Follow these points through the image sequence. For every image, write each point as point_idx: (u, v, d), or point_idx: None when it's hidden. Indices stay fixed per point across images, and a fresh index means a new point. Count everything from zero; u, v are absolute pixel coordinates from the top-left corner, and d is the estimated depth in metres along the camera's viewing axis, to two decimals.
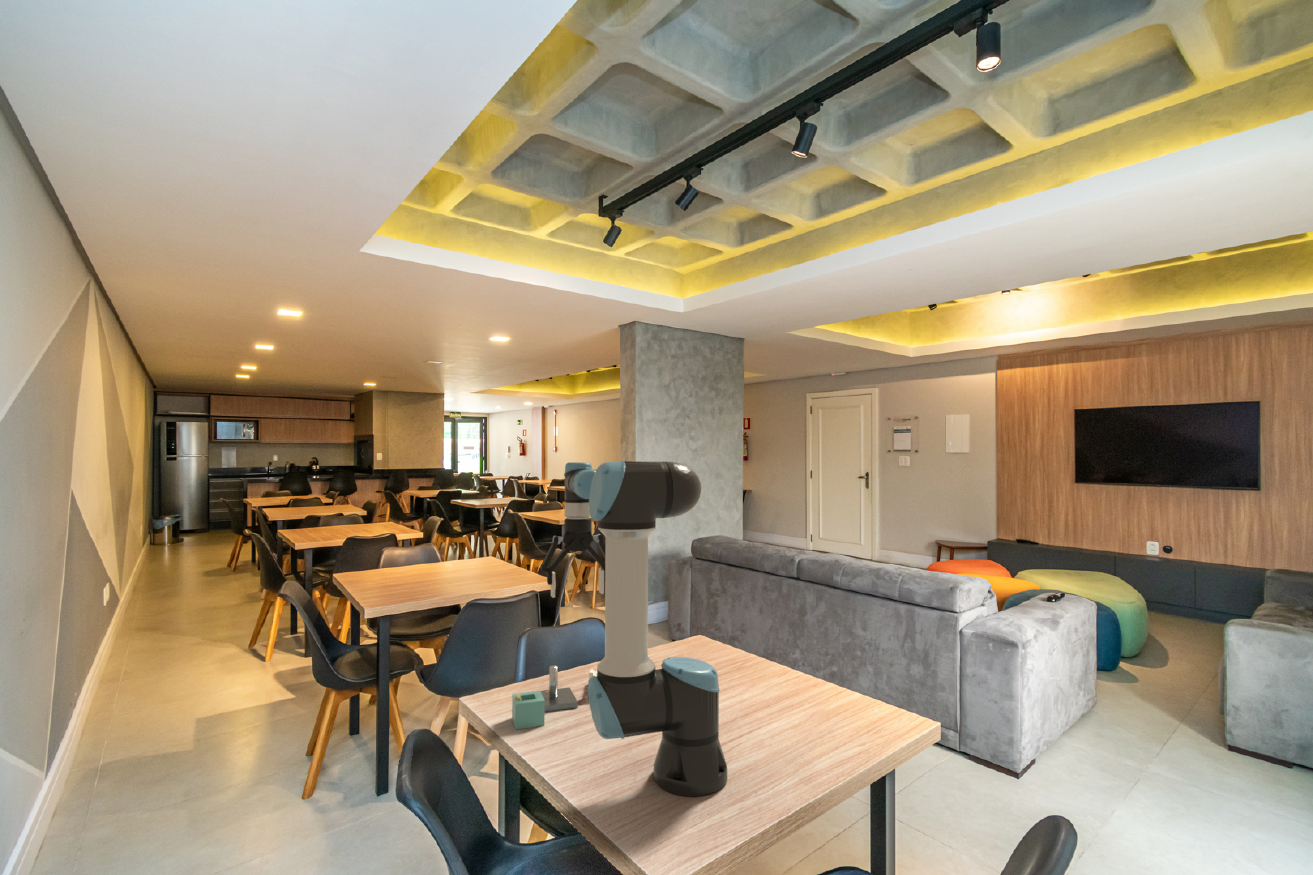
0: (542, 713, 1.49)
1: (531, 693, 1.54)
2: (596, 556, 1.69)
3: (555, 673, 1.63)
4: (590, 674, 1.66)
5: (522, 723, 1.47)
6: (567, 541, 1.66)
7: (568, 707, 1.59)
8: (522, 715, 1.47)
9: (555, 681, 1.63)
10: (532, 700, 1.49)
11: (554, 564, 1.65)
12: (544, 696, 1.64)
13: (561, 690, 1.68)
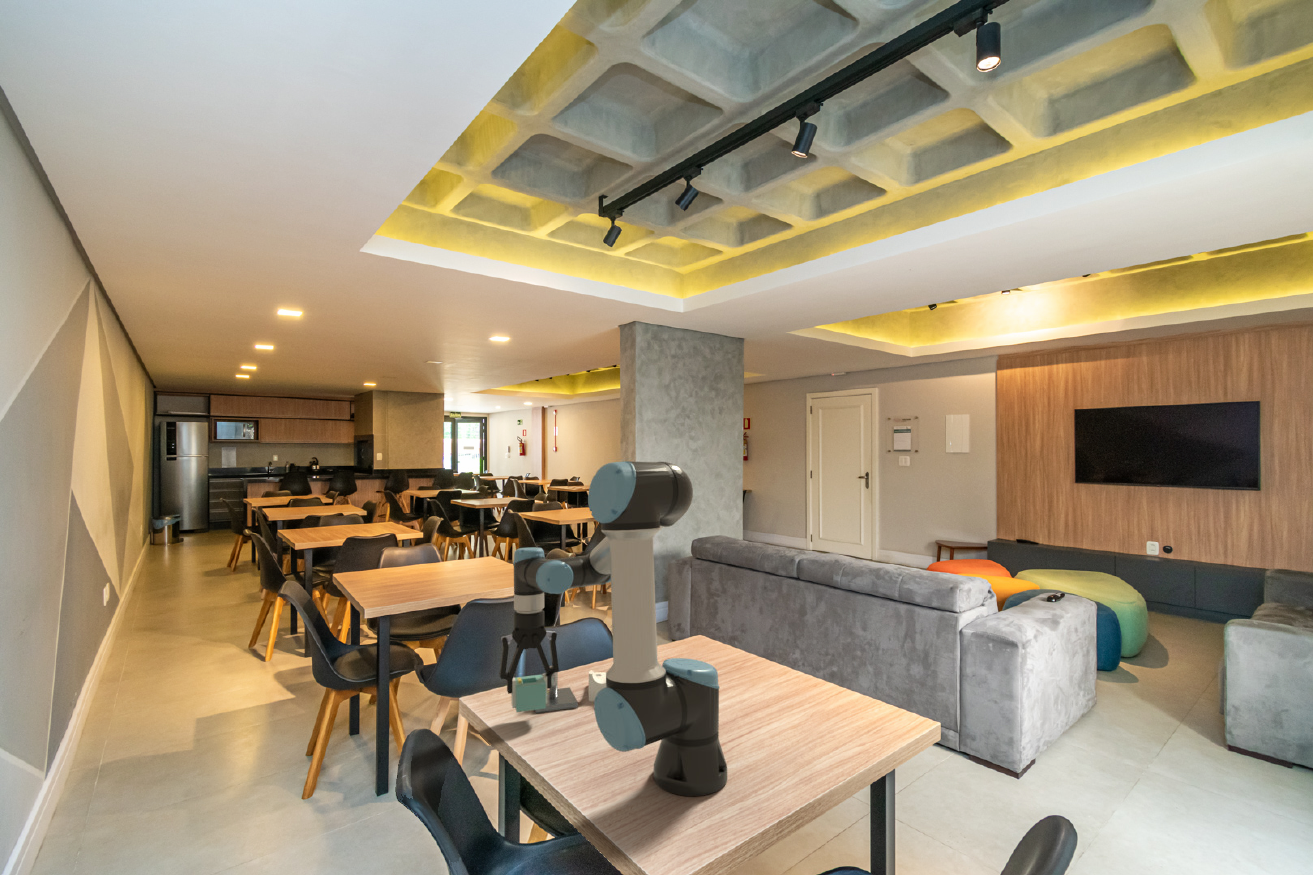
0: (543, 696, 1.49)
1: (532, 677, 1.54)
2: (543, 657, 1.52)
3: (555, 673, 1.63)
4: (589, 675, 1.65)
5: (523, 706, 1.47)
6: (517, 638, 1.50)
7: (568, 707, 1.59)
8: (523, 698, 1.47)
9: (555, 681, 1.63)
10: (533, 683, 1.49)
11: (512, 669, 1.49)
12: None
13: (561, 690, 1.68)
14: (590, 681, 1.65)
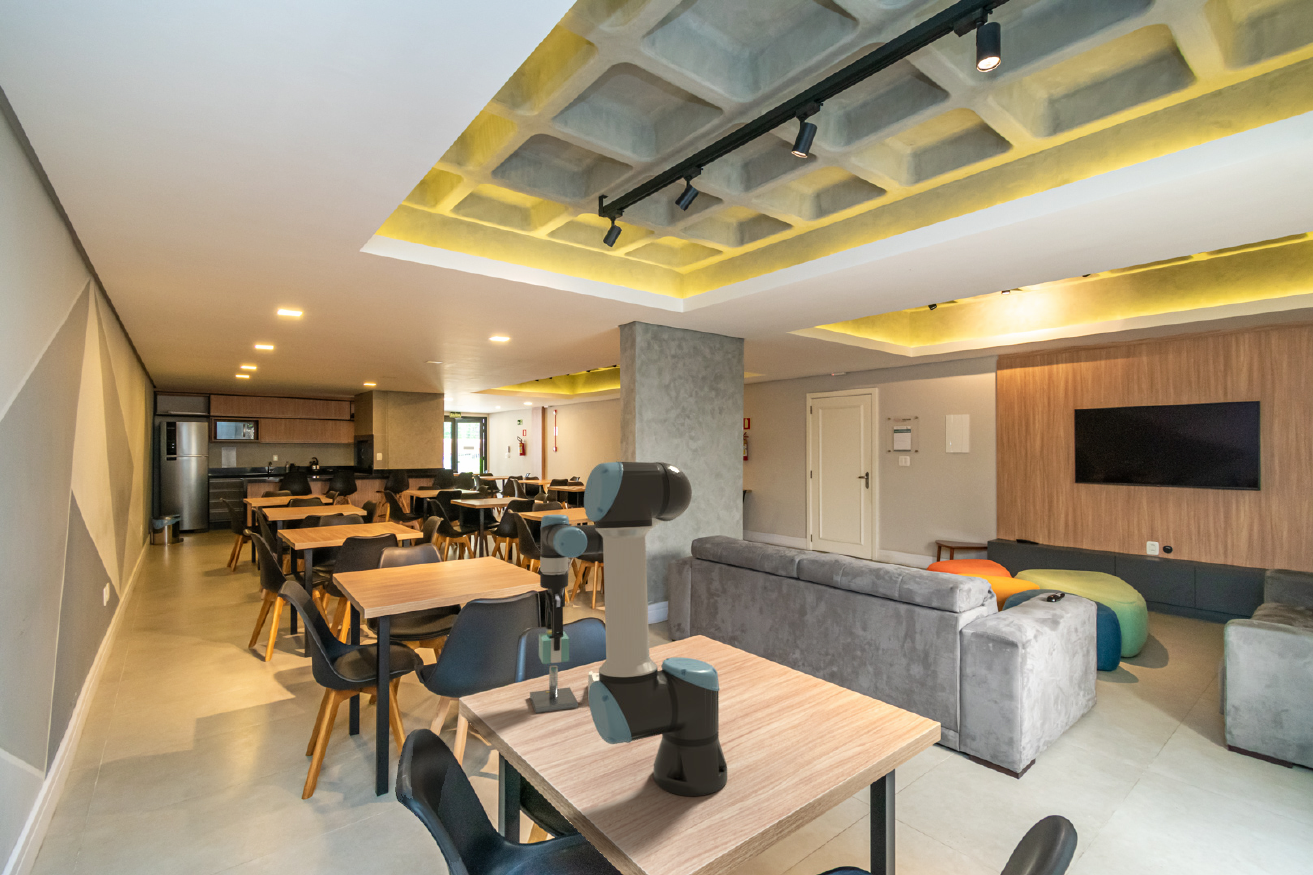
0: (542, 652, 1.60)
1: None
2: (551, 619, 1.61)
3: (555, 673, 1.63)
4: (589, 676, 1.64)
5: (539, 653, 1.65)
6: (548, 593, 1.67)
7: (568, 707, 1.59)
8: (539, 646, 1.65)
9: (555, 681, 1.63)
10: (545, 637, 1.63)
11: (546, 619, 1.68)
12: (544, 696, 1.64)
13: (561, 690, 1.68)
14: (590, 682, 1.64)
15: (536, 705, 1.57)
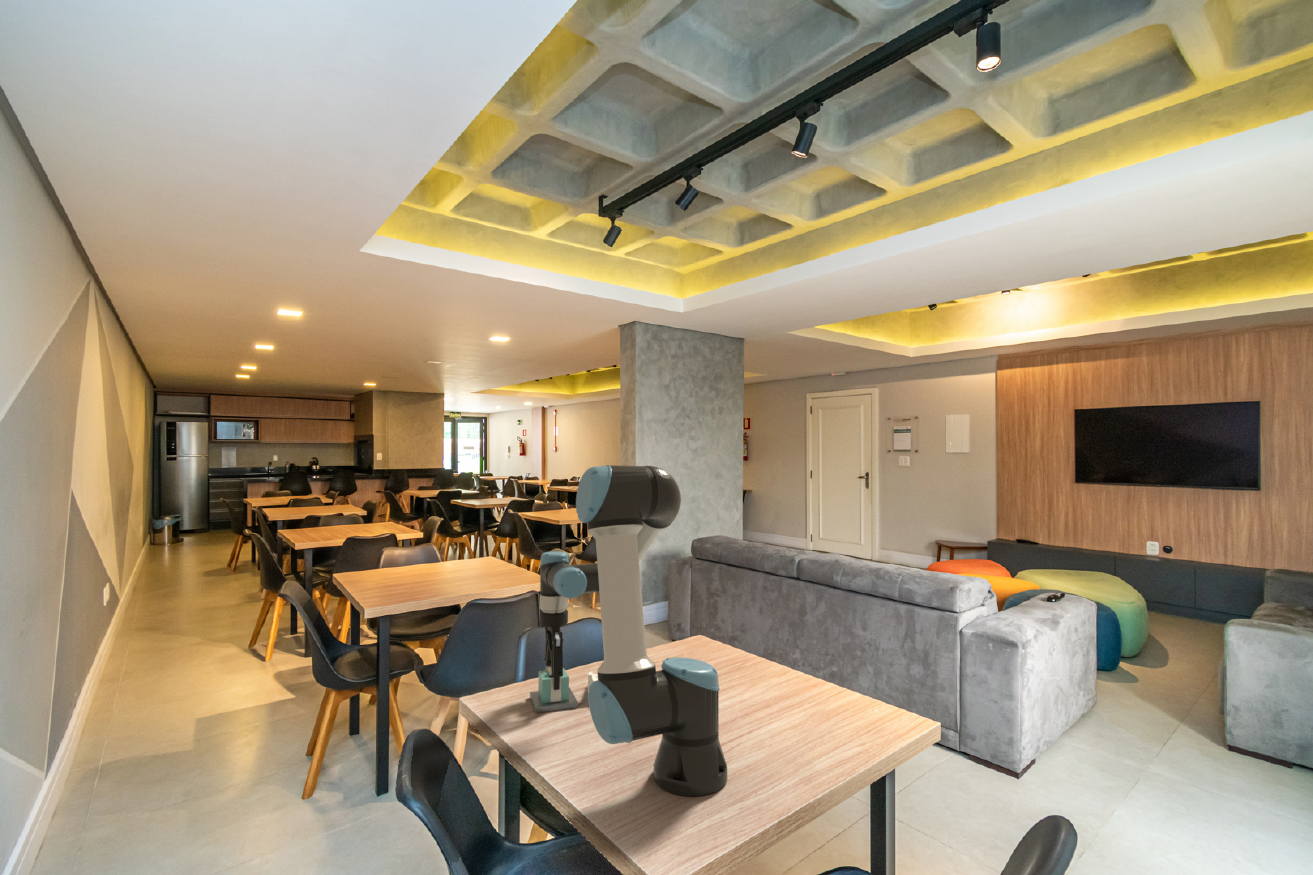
0: (542, 691, 1.59)
1: None
2: (551, 658, 1.60)
3: None
4: (589, 676, 1.64)
5: (539, 691, 1.64)
6: (547, 630, 1.66)
7: (568, 707, 1.59)
8: (539, 684, 1.64)
9: None
10: (544, 676, 1.62)
11: (546, 656, 1.67)
12: None
13: None
14: (589, 682, 1.64)
15: (536, 705, 1.57)
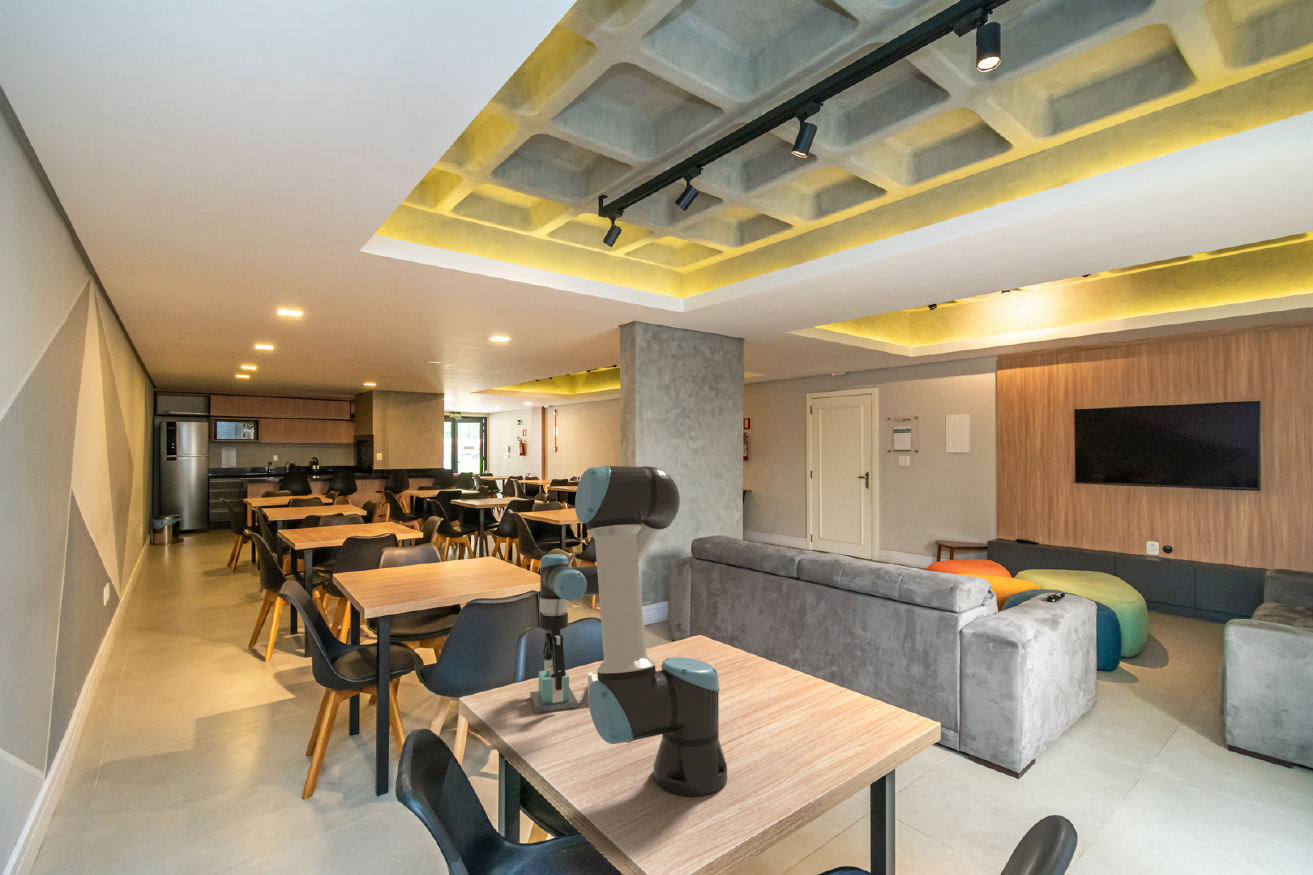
0: (542, 691, 1.59)
1: None
2: (552, 658, 1.59)
3: None
4: (589, 677, 1.63)
5: (539, 691, 1.64)
6: (547, 633, 1.67)
7: (568, 707, 1.59)
8: (539, 684, 1.64)
9: None
10: (544, 676, 1.62)
11: (545, 652, 1.70)
12: None
13: None
14: (589, 683, 1.63)
15: (536, 705, 1.57)
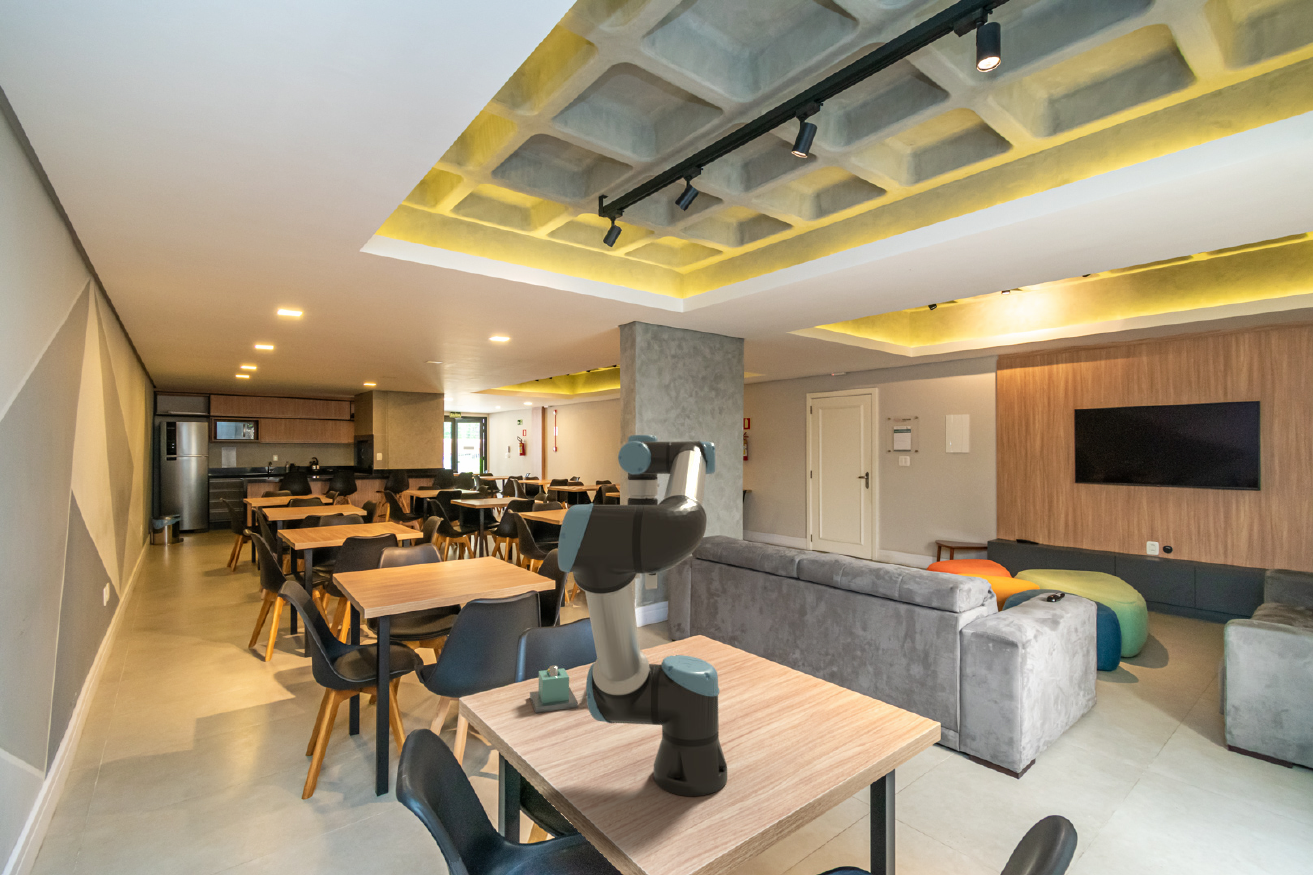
0: (542, 691, 1.59)
1: (562, 674, 1.63)
2: None
3: (555, 673, 1.63)
4: None
5: (539, 691, 1.64)
6: None
7: (568, 707, 1.59)
8: (539, 684, 1.64)
9: None
10: (544, 676, 1.62)
11: None
12: None
13: None
14: None
15: (536, 705, 1.57)
